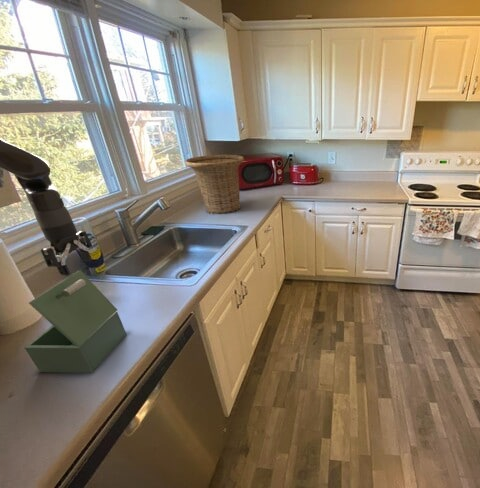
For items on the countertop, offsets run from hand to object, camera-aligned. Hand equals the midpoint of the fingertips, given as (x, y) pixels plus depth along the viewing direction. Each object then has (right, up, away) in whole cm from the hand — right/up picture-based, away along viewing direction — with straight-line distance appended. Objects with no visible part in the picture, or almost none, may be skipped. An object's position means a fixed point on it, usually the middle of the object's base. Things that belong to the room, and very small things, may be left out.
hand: (77, 267), depth 92 cm
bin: (+15, -22, -14) cm, 31 cm away
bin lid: (+19, -8, -21) cm, 29 cm away
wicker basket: (+13, +31, +97) cm, 103 cm away
